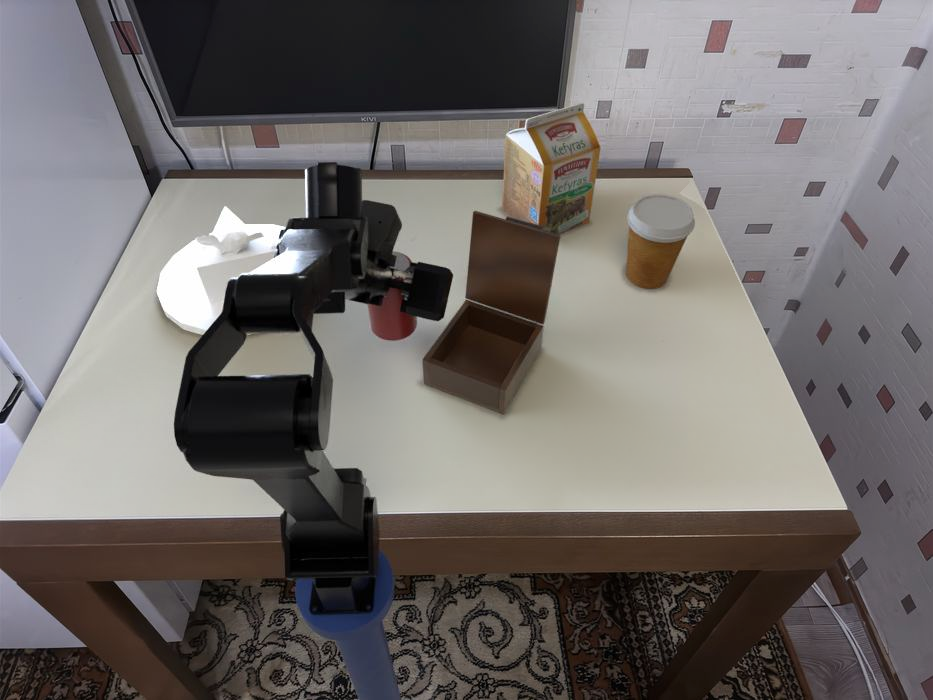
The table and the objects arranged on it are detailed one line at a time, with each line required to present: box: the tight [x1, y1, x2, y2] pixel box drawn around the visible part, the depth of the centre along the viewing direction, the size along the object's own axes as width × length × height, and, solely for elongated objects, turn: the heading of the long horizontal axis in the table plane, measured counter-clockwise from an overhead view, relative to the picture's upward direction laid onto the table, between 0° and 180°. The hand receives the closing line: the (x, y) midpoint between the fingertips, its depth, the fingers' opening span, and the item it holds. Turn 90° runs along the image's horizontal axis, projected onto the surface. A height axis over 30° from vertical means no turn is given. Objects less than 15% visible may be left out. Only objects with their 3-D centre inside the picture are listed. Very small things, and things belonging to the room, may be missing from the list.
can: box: [367, 250, 418, 342], centre depth 87 cm, size 6×6×10 cm
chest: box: [422, 299, 544, 415], centre depth 90 cm, size 13×12×5 cm
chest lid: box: [465, 210, 561, 325], centre depth 89 cm, size 13×12×4 cm
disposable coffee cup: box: [625, 193, 696, 290], centre depth 100 cm, size 10×10×12 cm
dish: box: [156, 205, 286, 336], centre depth 99 cm, size 25×25×11 cm
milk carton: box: [501, 102, 602, 235], centre depth 108 cm, size 10×11×19 cm
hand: (394, 285), depth 87 cm, fingers closed on can, 6 cm apart
